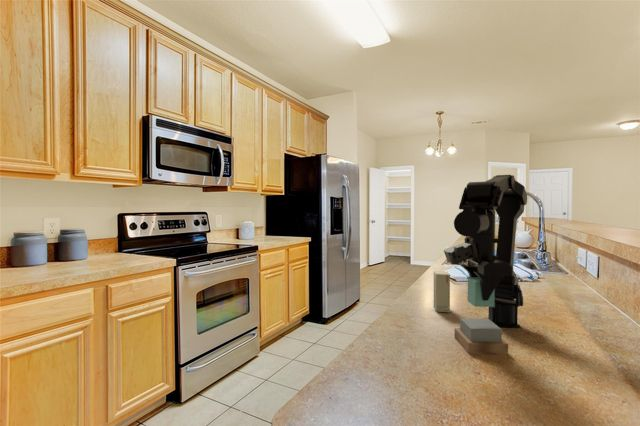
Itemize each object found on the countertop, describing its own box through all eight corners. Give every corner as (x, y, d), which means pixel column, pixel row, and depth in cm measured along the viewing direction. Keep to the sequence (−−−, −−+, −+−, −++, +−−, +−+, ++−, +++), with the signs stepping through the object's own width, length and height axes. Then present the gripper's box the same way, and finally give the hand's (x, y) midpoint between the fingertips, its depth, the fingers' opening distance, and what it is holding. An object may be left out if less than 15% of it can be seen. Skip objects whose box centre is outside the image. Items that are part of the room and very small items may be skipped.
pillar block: (486, 301, 83) (486, 277, 82) (494, 306, 78) (494, 281, 78) (467, 300, 83) (467, 277, 83) (474, 306, 78) (475, 281, 78)
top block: (488, 330, 84) (488, 318, 84) (501, 341, 77) (501, 329, 77) (460, 329, 85) (460, 318, 84) (470, 341, 78) (470, 328, 78)
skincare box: (450, 313, 105) (450, 274, 105) (435, 312, 106) (436, 274, 105) (446, 307, 111) (447, 270, 111) (433, 306, 112) (433, 270, 112)
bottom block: (490, 340, 85) (490, 329, 85) (507, 356, 76) (508, 343, 76) (454, 339, 86) (454, 328, 86) (468, 355, 77) (468, 342, 77)
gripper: (436, 230, 90) (436, 287, 90) (461, 237, 71) (460, 309, 72) (478, 230, 89) (477, 287, 90) (515, 237, 70) (513, 310, 71)
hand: (480, 297), depth 80 cm, fingers closed on pillar block, 4 cm apart
